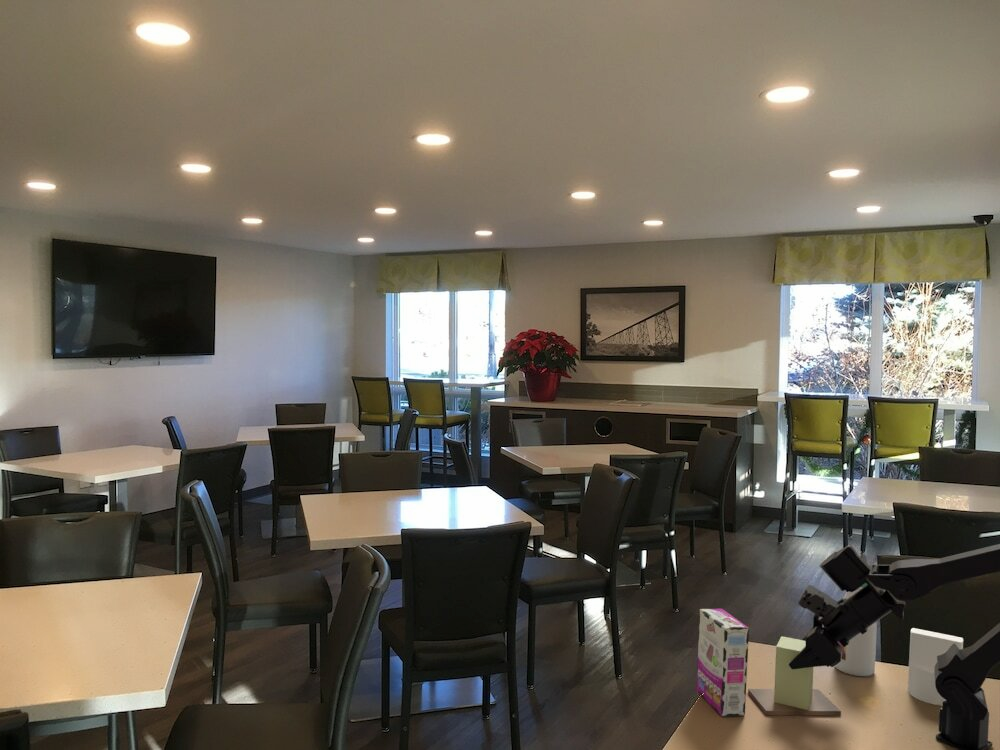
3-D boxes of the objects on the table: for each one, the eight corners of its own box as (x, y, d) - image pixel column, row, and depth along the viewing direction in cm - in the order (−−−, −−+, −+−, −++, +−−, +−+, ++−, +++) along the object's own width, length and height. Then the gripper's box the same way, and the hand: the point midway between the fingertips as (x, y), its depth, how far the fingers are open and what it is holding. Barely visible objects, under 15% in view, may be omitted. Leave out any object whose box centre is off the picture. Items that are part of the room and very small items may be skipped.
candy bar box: (747, 716, 142) (750, 627, 141) (721, 718, 141) (725, 628, 140) (719, 689, 153) (722, 606, 152) (695, 690, 152) (698, 607, 151)
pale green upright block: (812, 697, 148) (814, 642, 148) (807, 710, 143) (810, 653, 142) (779, 689, 151) (781, 636, 151) (773, 702, 146) (776, 646, 145)
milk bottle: (877, 668, 165) (881, 575, 164) (871, 680, 158) (875, 583, 157) (838, 659, 169) (842, 568, 168) (830, 671, 163) (835, 576, 162)
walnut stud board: (818, 693, 152) (819, 674, 152) (840, 715, 143) (841, 695, 143) (748, 692, 151) (748, 673, 151) (766, 715, 142) (766, 694, 142)
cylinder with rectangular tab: (961, 693, 154) (964, 633, 153) (958, 710, 146) (961, 647, 146) (910, 680, 159) (913, 623, 158) (905, 697, 151) (908, 636, 151)
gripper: (832, 563, 152) (771, 608, 157) (822, 588, 135) (754, 638, 141) (875, 610, 148) (811, 655, 154) (870, 642, 132) (799, 691, 138)
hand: (793, 658), depth 147 cm, fingers open, 9 cm apart
